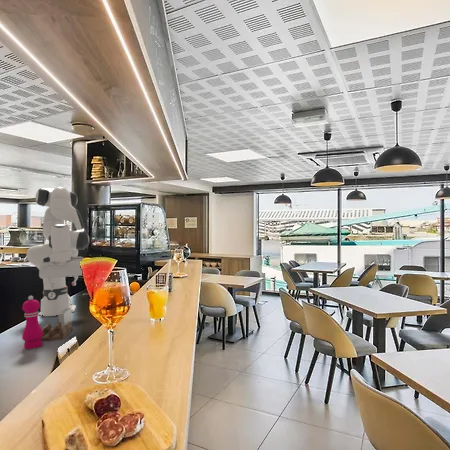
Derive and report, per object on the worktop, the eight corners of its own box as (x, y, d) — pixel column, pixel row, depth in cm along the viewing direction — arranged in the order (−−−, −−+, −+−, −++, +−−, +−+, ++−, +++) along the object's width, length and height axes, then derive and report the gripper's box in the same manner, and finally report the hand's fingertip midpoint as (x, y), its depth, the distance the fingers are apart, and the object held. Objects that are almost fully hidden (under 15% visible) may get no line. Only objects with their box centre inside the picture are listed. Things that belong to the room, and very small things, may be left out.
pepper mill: (20, 350, 130) (17, 298, 131) (25, 344, 137) (23, 295, 138) (41, 347, 132) (38, 296, 132) (45, 342, 139) (42, 293, 139)
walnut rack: (37, 332, 154) (37, 324, 154) (72, 329, 156) (72, 321, 156) (24, 343, 140) (24, 333, 140) (63, 338, 142) (62, 330, 142)
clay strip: (66, 322, 170) (66, 308, 170) (71, 321, 170) (71, 307, 170) (59, 329, 158) (58, 314, 158) (64, 328, 158) (63, 313, 158)
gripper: (86, 255, 169) (87, 283, 169) (41, 258, 166) (43, 287, 165) (83, 256, 163) (84, 285, 163) (37, 259, 159) (38, 289, 159)
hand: (63, 286), depth 164 cm, fingers open, 8 cm apart
